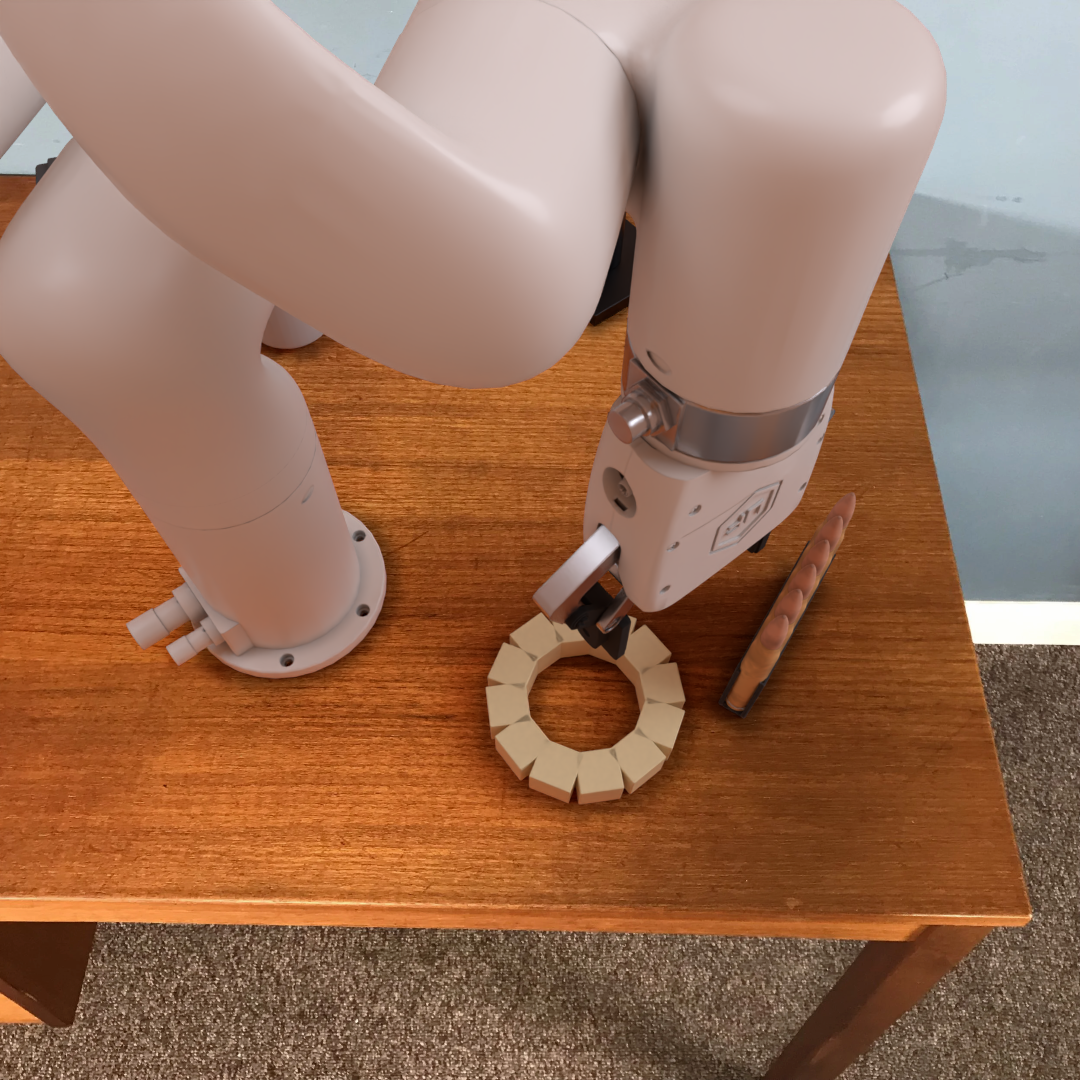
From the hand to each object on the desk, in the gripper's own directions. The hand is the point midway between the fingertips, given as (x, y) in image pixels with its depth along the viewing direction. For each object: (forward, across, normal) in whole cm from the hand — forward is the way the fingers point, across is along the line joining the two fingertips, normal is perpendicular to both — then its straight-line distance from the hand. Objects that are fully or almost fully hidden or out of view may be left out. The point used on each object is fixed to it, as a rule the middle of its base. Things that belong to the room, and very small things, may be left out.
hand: (671, 583), depth 48 cm
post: (+11, +20, +28) cm, 36 cm away
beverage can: (+11, -3, +38) cm, 40 cm away
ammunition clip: (+12, +7, -4) cm, 14 cm away
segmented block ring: (+11, -5, 0) cm, 12 cm away
